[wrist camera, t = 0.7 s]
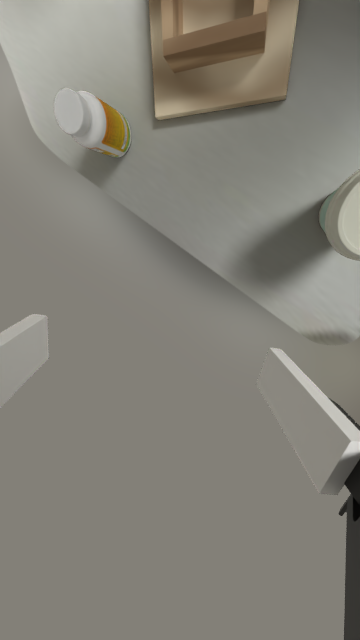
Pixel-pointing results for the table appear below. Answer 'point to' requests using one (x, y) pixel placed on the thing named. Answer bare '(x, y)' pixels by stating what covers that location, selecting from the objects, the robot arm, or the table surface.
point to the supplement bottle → (92, 122)
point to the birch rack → (219, 53)
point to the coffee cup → (343, 218)
